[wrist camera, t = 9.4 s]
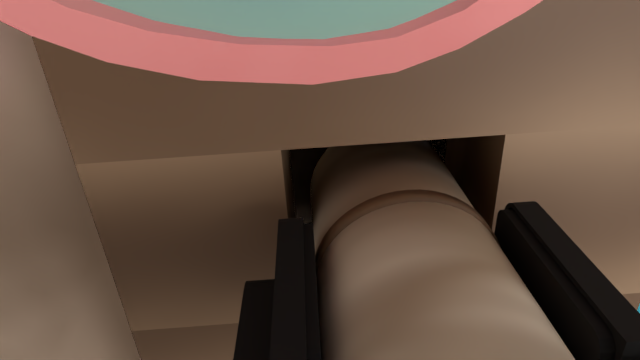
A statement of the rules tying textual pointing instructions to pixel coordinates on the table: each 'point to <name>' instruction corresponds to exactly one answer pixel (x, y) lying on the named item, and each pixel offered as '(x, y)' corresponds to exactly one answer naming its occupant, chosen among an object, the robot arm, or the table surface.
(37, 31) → the cell model
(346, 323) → the birch leg
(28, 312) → the table surface
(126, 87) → the brown block with hole
